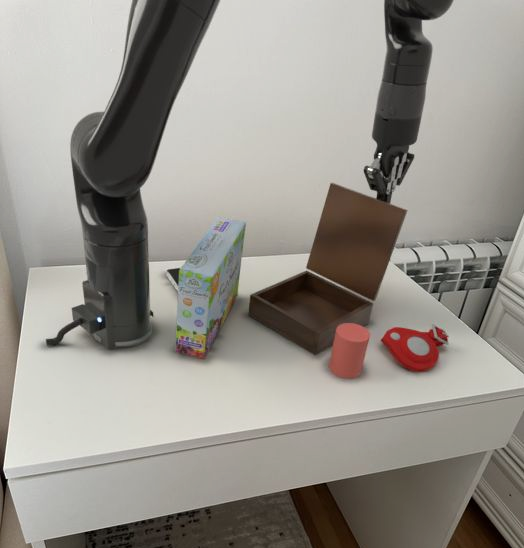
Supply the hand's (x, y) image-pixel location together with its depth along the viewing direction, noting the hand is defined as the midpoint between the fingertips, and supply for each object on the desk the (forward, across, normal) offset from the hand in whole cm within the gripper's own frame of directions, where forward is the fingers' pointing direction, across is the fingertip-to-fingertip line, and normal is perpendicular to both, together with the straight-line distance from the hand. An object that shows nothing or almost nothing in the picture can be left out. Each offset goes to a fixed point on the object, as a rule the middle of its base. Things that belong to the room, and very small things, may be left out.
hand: (381, 211), depth 98 cm
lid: (+3, +8, 0) cm, 9 cm away
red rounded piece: (+16, +13, +19) cm, 28 cm away
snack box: (+14, +34, -10) cm, 38 cm away
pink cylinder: (+15, +26, +13) cm, 32 cm away
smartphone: (+14, +28, -20) cm, 37 cm away
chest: (+15, +19, 0) cm, 24 cm away
